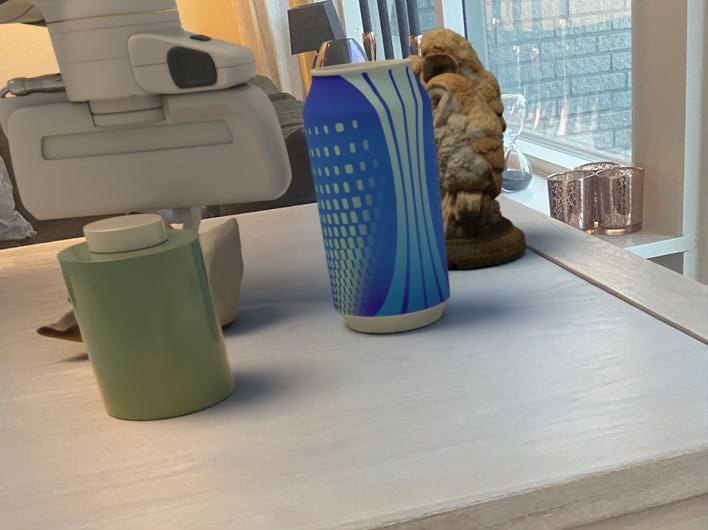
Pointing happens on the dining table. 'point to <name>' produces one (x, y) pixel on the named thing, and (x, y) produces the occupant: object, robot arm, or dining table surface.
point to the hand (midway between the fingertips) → (178, 270)
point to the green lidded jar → (147, 317)
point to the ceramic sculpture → (222, 270)
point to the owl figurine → (467, 151)
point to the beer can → (378, 194)
